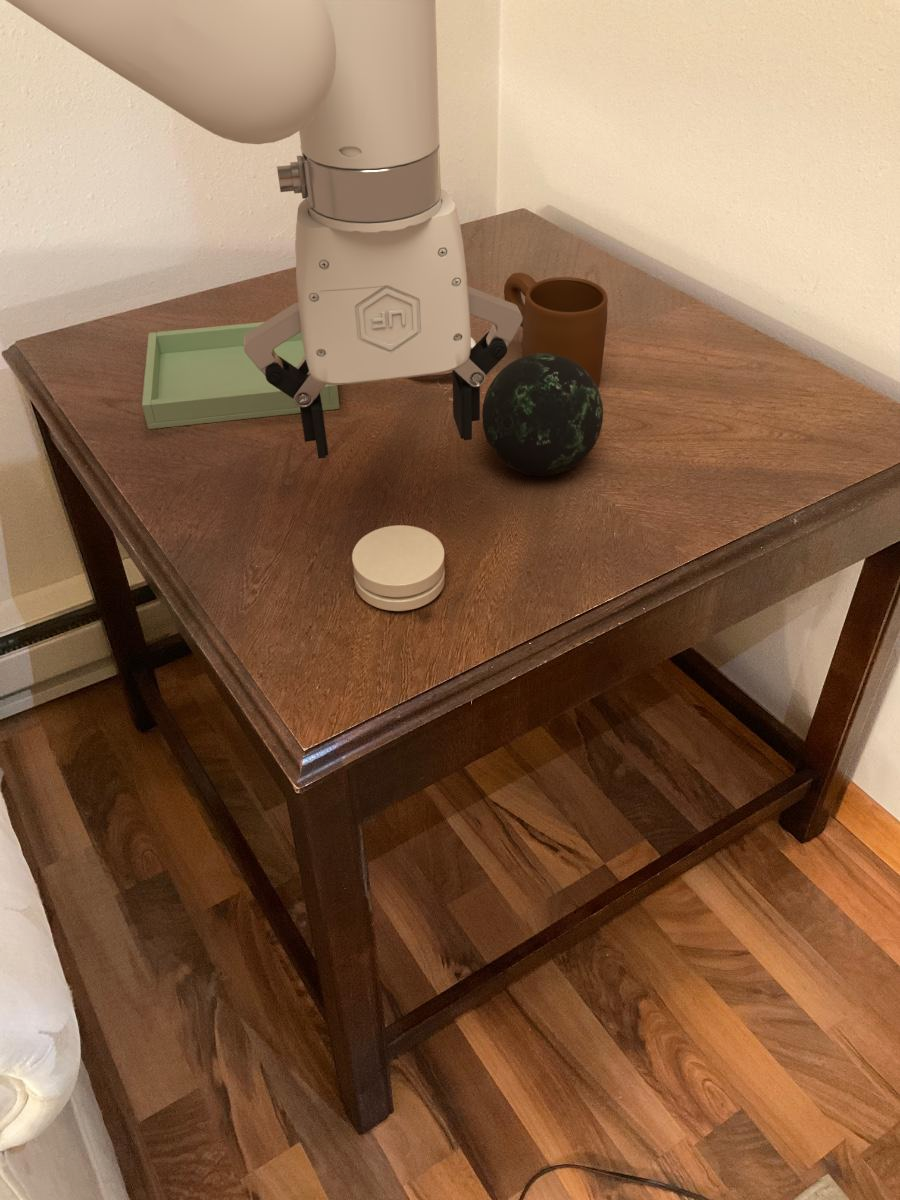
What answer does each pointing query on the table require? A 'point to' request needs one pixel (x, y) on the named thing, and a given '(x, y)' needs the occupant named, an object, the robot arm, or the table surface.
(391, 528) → the beige round container
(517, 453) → the decorative stone
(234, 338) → the tray
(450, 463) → the table surface
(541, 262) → the table surface
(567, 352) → the mug
